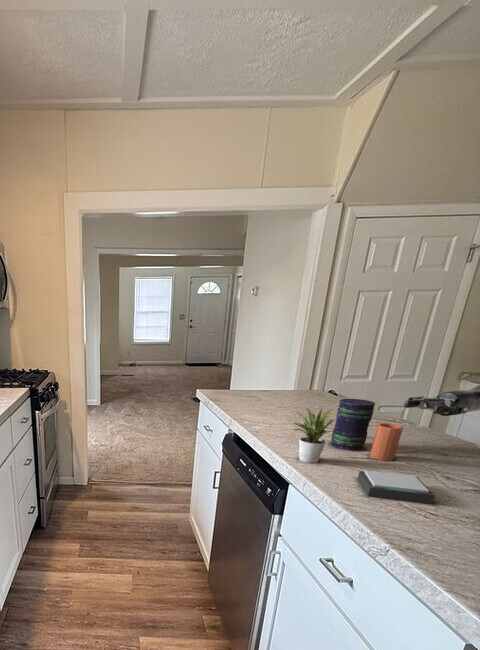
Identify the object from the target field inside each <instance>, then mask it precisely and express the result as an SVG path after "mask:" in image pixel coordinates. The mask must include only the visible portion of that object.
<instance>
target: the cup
mask: <svg viewBox="0 0 480 650" xmlns="http://www.w3.org/2000/svg"><path fill="white" fill-rule="evenodd" d="M403 431H404V426H402V425H400V424H396V423H388V422H387V423H386V422H382V423H381V422H380V423H378V424H377V426H376V429H375V434H374V436H373V441H372V444H371V449H370V452H369V457H370V458H372V459H375V460H378V461H385V462H389V461H390V462H391V461H394V460H395V457H396V454H397V450H398V448H399V443H400V440H401V436H402V434H403Z"/></svg>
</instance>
